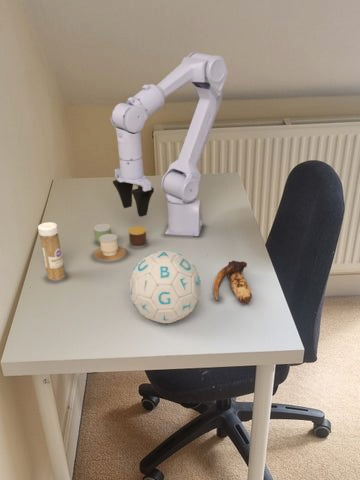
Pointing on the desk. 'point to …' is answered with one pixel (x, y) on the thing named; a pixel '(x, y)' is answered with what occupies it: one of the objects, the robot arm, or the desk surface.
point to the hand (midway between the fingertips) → (135, 211)
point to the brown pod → (137, 236)
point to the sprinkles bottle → (51, 250)
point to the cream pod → (109, 244)
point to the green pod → (101, 230)
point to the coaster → (120, 253)
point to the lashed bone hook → (234, 281)
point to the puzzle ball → (165, 287)
